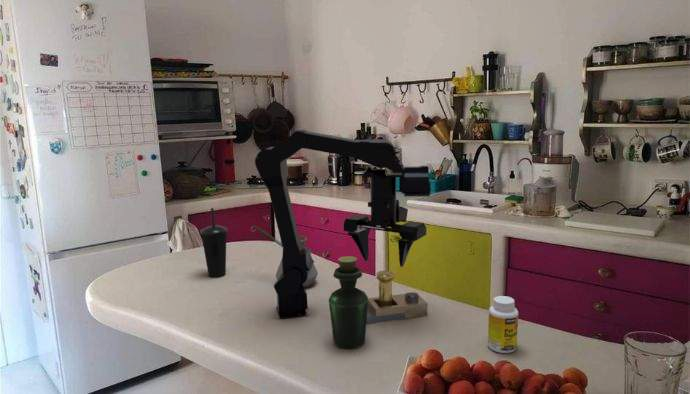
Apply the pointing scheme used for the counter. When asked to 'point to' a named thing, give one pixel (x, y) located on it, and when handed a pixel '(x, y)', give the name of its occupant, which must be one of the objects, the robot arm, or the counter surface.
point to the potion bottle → (348, 306)
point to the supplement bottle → (503, 325)
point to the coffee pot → (303, 239)
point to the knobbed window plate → (397, 308)
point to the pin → (385, 288)
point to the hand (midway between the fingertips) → (384, 263)
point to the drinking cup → (215, 248)
